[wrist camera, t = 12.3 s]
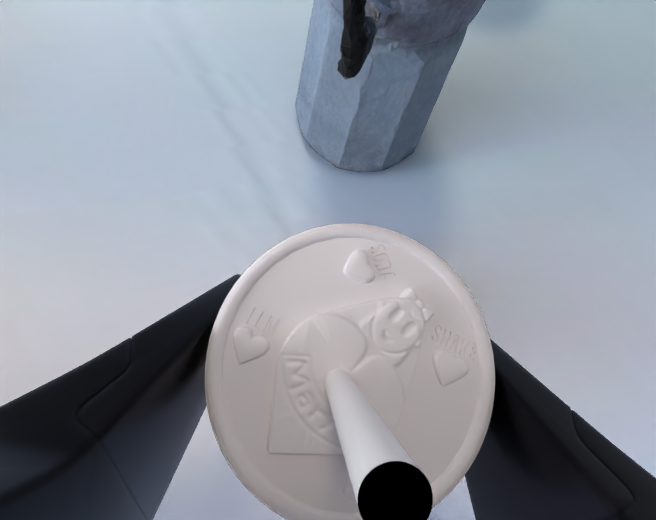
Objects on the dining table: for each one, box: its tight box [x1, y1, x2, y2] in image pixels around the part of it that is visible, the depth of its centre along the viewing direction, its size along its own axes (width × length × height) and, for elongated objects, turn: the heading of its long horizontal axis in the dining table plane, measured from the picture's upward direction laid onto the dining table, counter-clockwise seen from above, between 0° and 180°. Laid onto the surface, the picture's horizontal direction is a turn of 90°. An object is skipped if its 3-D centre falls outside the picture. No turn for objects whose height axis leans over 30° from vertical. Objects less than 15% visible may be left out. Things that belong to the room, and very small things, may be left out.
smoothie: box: [205, 223, 495, 520], centre depth 8 cm, size 6×6×14 cm
